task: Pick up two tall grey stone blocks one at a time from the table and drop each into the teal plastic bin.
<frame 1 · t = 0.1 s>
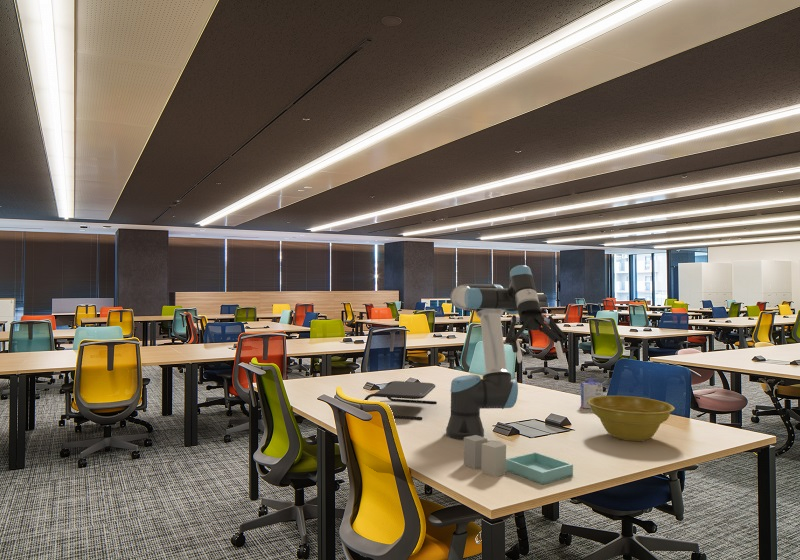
hand: (541, 361, 169), 36 cm above the table, tool tilted 35°, fingers open, 13 cm apart
planter bowl: (629, 437, 215), on the table
stone a: (475, 465, 177), on the table
stone b: (493, 472, 170), on the table
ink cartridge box: (591, 407, 269), on the table
bin: (538, 472, 170), on the table
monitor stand: (401, 410, 259), on the table
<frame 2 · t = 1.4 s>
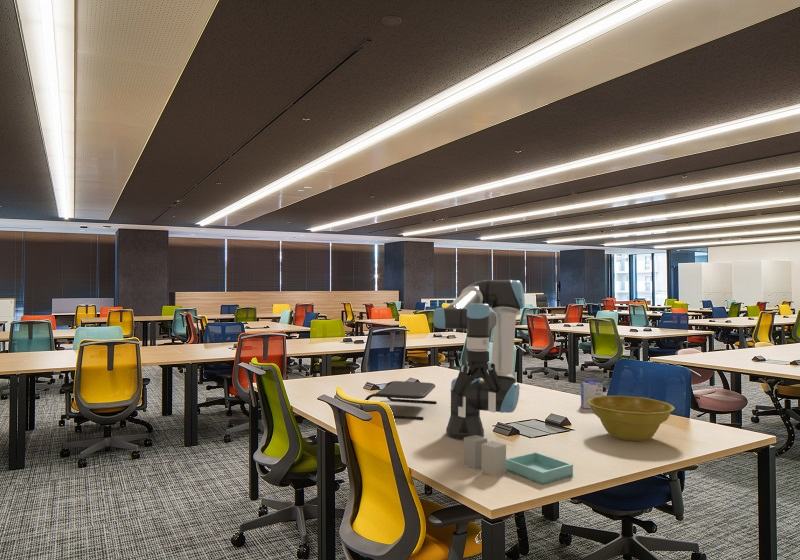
hand: (477, 414, 177), 17 cm above the table, tool pointing down, fingers open, 13 cm apart
nothing on the table moved.
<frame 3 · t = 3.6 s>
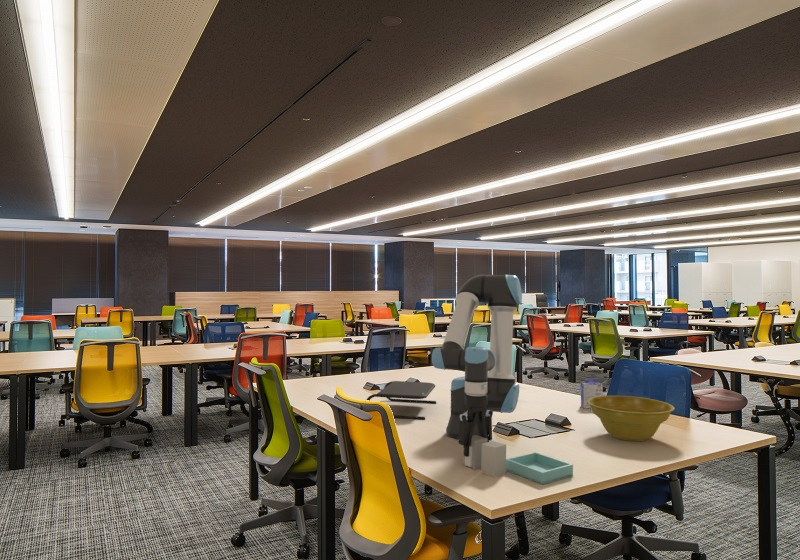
hand: (475, 464, 177), 0 cm above the table, tool pointing down, fingers closed on stone a, 5 cm apart
stone a: (475, 465, 177), on the table, touching gripper
everything else where it was.
when the fingers open (4 cm above the table, at t = 8.2 s): stone a drops 3 cm, resting on bin.
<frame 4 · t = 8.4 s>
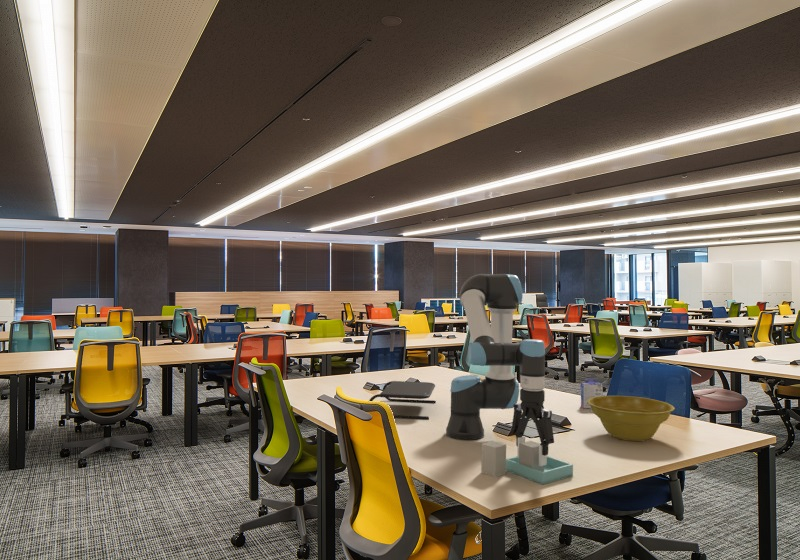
hand: (531, 461, 168), 4 cm above the table, tool pointing down, fingers open, 8 cm apart
stone a: (531, 472, 168), point 1 cm above the table, touching bin
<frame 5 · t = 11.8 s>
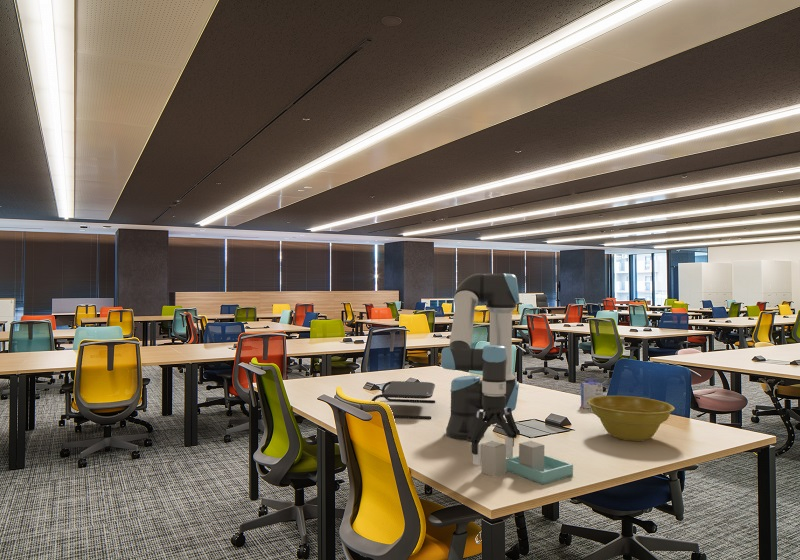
hand: (493, 461, 169), 4 cm above the table, tool pointing down, fingers open, 13 cm apart
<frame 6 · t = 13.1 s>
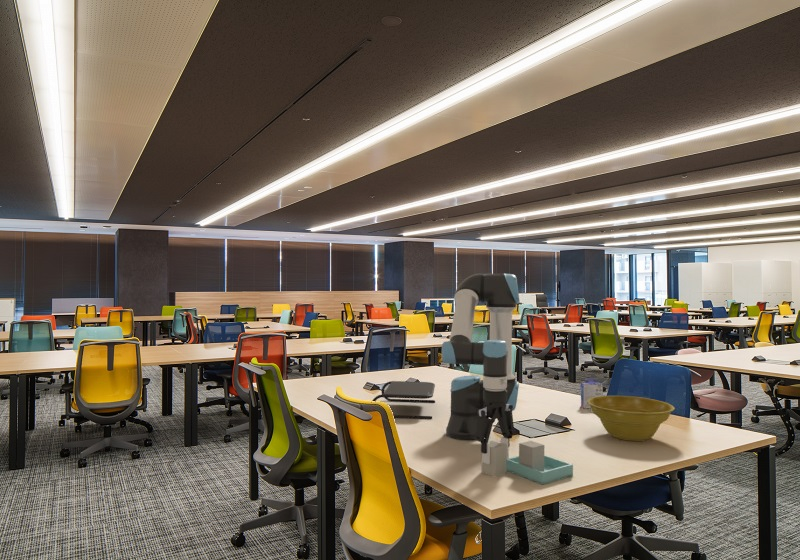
hand: (495, 460, 170), 4 cm above the table, tool pointing down, fingers open, 7 cm apart
stone b: (493, 472, 170), on the table, touching gripper
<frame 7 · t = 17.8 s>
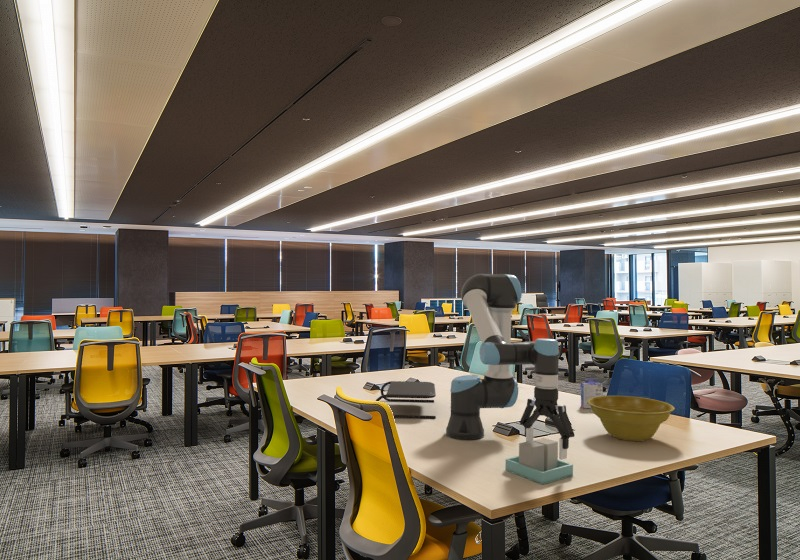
hand: (545, 453, 172), 6 cm above the table, tool pointing down, fingers open, 13 cm apart
stone b: (545, 469, 172), point 1 cm above the table, touching bin
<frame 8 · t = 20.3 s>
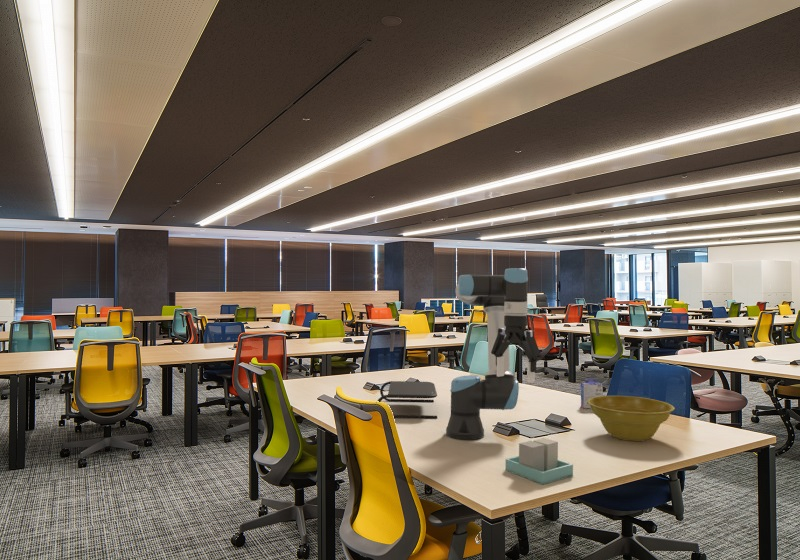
hand: (515, 379, 176), 29 cm above the table, tool pointing down, fingers open, 13 cm apart
at the end: stone a inside the target area on the bin (3.3 cm from its centre), point 0.6 cm above the bin's base; stone b inside the target area on the bin (3.1 cm from its centre), point 0.6 cm above the bin's base; the gripper is holding nothing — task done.
